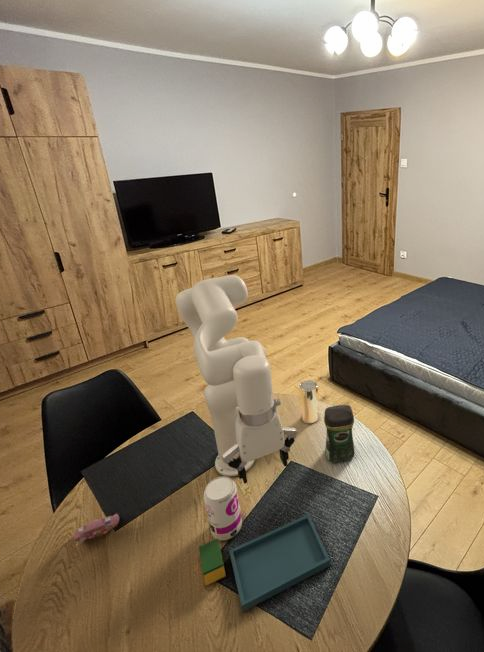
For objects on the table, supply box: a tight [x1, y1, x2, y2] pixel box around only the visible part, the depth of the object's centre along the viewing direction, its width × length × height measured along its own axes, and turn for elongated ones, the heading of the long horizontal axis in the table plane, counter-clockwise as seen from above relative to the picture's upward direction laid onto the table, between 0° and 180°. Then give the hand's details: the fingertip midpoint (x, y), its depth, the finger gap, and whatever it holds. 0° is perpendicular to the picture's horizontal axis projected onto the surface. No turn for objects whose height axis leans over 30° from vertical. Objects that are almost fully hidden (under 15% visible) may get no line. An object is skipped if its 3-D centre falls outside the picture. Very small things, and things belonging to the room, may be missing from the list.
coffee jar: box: [323, 404, 355, 463], centre depth 120 cm, size 10×8×19 cm
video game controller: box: [73, 513, 120, 543], centre depth 97 cm, size 10×5×7 cm, turn 118°
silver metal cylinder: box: [298, 379, 319, 424], centre depth 137 cm, size 7×7×15 cm
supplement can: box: [203, 475, 243, 542], centre depth 97 cm, size 8×8×15 cm
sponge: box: [198, 538, 226, 586], centre depth 90 cm, size 7×5×5 cm, turn 27°
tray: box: [228, 514, 331, 613], centre depth 91 cm, size 14×22×2 cm, turn 117°
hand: (264, 470), depth 86 cm, fingers open, 9 cm apart
